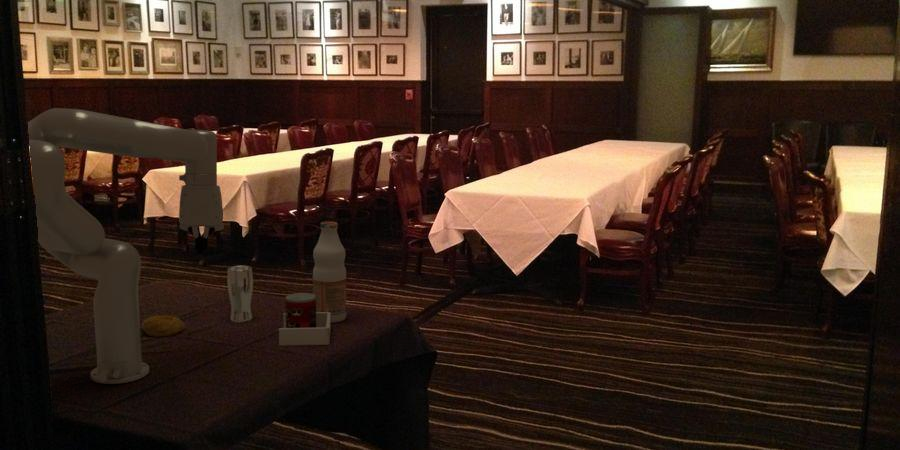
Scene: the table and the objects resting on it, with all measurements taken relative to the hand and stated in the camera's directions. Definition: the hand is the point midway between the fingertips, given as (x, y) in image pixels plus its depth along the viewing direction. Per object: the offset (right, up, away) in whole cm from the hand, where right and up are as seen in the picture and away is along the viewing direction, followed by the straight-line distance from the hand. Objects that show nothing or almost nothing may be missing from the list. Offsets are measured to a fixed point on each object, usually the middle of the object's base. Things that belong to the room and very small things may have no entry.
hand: (201, 252), depth 206 cm
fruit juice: (+28, -20, +29) cm, 45 cm away
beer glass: (+3, -20, +27) cm, 34 cm away
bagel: (-15, -22, +15) cm, 30 cm away
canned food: (+23, -23, +13) cm, 35 cm away
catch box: (+24, -23, +13) cm, 35 cm away
